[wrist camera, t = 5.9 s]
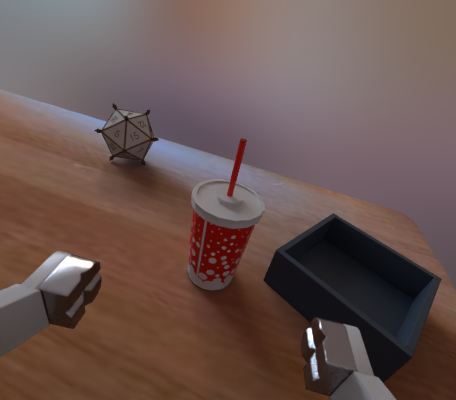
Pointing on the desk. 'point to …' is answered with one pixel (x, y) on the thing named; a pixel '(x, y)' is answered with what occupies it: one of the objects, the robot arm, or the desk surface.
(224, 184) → the beverage cup
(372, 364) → the tote
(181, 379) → the desk surface
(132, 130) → the game die
